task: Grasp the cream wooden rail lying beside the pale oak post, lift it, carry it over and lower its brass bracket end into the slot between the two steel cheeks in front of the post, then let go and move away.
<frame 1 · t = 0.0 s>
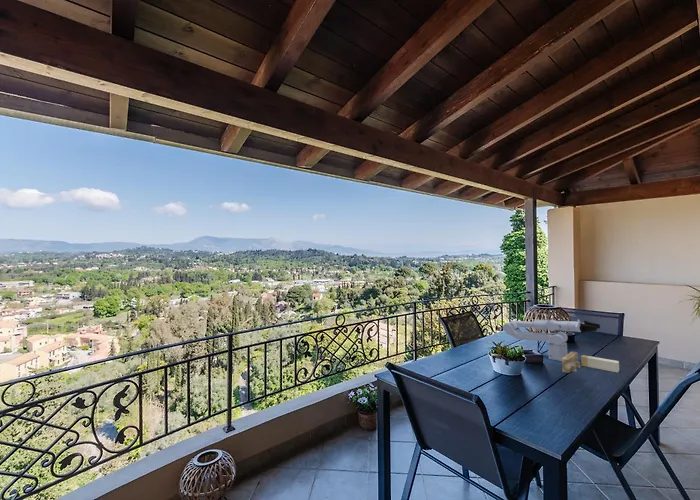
hand: (598, 327, 180), 22 cm above the table, tool horizontal, fingers open, 7 cm apart
rail: (599, 368, 177), on the table
post: (570, 368, 178), on the table
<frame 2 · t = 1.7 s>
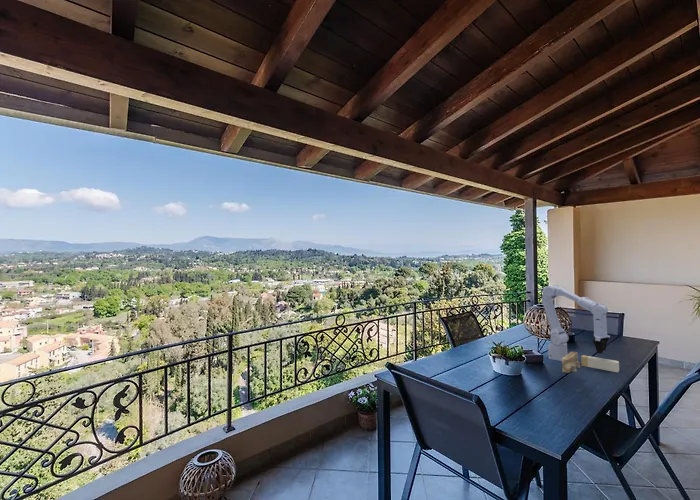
hand: (601, 351, 176), 9 cm above the table, tool pointing down, fingers open, 7 cm apart
nothing on the table moved.
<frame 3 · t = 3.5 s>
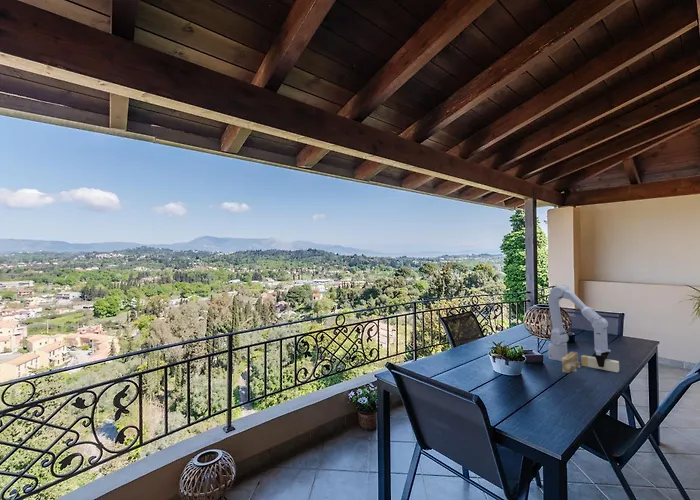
hand: (601, 365, 176), 1 cm above the table, tool pointing down, fingers closed on rail, 4 cm apart
rail: (599, 367, 177), on the table, touching gripper
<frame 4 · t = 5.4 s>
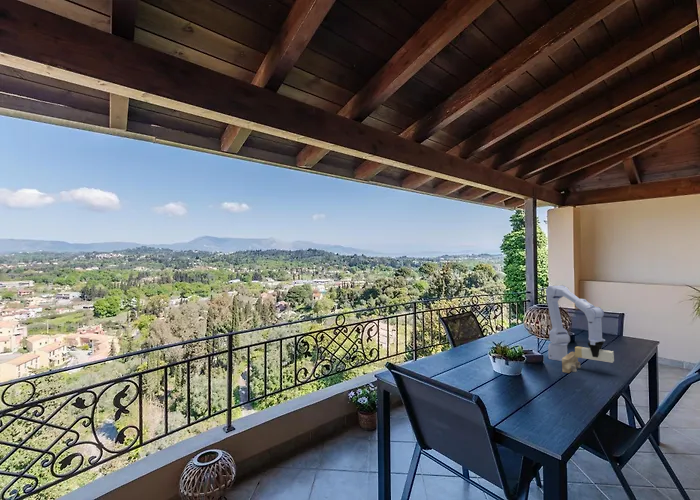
hand: (596, 355, 171), 8 cm above the table, tool pointing down, fingers closed on rail, 4 cm apart
rail: (594, 358, 172), point 7 cm above the table, touching gripper
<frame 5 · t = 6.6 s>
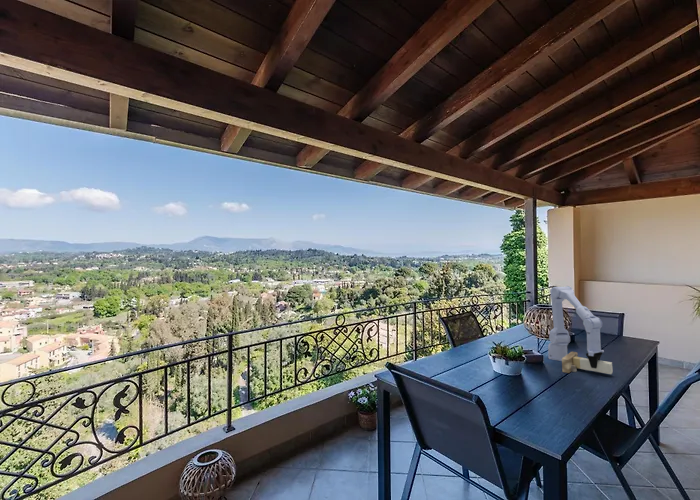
hand: (594, 366, 170), 3 cm above the table, tool pointing down, fingers closed on rail, 4 cm apart
rail: (592, 369, 170), point 2 cm above the table, touching gripper
when the fingers open (2 cm above the table, at t = 7.6 s): rail stays where it is, on the table.
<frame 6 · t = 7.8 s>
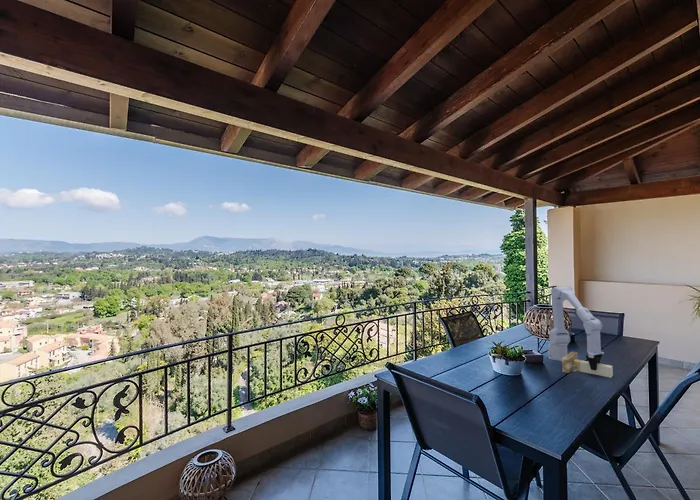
hand: (594, 368, 170), 2 cm above the table, tool pointing down, fingers open, 5 cm apart
rail: (592, 372, 170), on the table
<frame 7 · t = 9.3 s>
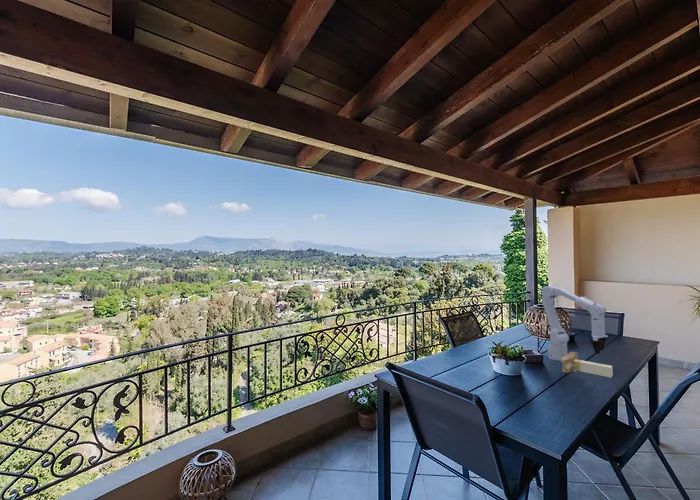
hand: (599, 351, 176), 9 cm above the table, tool pointing down, fingers open, 7 cm apart
nothing on the table moved.
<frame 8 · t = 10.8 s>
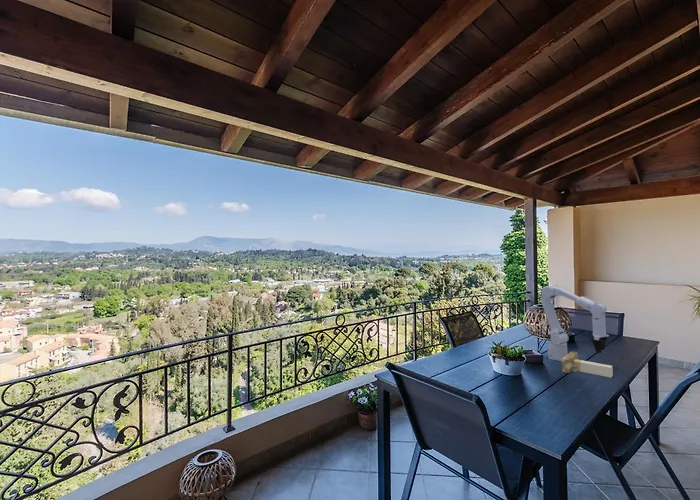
hand: (600, 350, 177), 9 cm above the table, tool pointing down, fingers open, 7 cm apart
nothing on the table moved.
at the end: rail 0.2 cm from the target spot on the table beside the post, on the table; rail tilted 0°; the gripper is holding nothing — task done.
